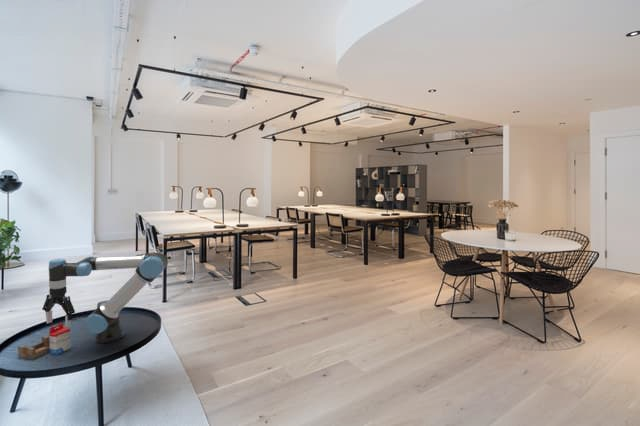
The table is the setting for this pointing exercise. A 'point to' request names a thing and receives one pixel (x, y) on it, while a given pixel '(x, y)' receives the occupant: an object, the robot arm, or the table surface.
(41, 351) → the wooden crate
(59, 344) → the red white carton
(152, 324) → the table surface
